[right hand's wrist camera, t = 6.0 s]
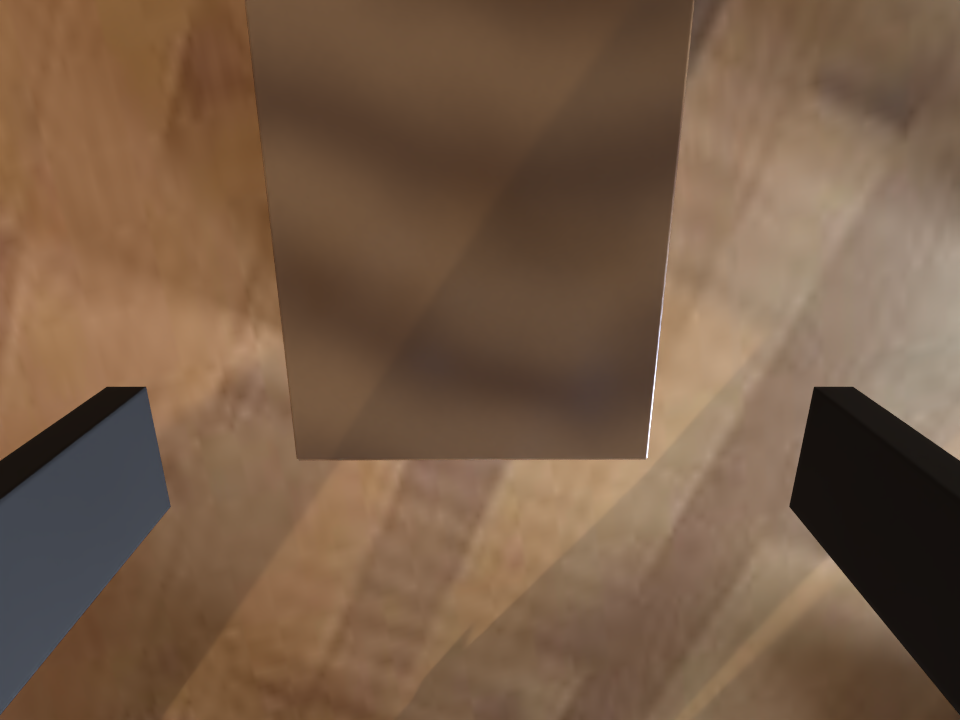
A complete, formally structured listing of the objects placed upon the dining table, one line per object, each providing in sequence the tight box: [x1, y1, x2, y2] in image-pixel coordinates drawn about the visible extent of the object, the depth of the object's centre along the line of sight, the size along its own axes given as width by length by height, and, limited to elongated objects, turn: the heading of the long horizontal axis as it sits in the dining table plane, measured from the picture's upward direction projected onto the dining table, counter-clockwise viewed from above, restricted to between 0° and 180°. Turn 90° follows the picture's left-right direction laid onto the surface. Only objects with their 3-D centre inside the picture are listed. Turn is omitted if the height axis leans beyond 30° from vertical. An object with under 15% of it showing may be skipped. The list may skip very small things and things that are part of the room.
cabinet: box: [245, 0, 695, 460], centre depth 22 cm, size 20×12×10 cm, turn 0°
